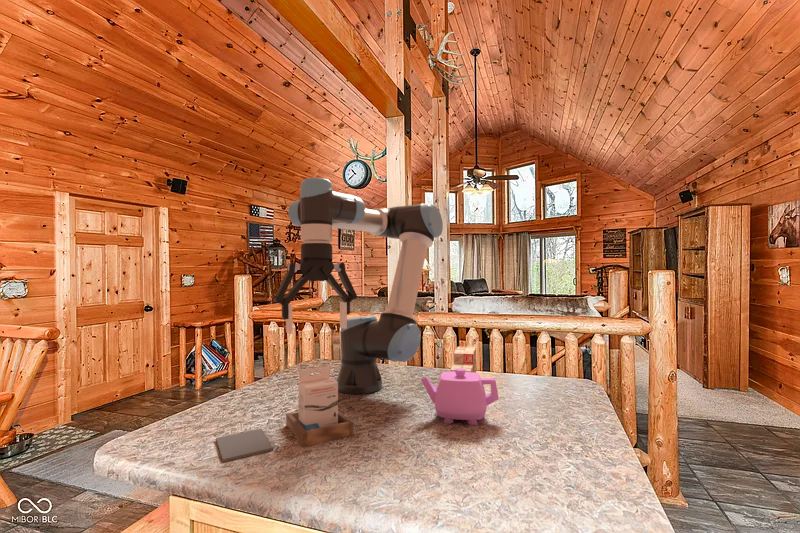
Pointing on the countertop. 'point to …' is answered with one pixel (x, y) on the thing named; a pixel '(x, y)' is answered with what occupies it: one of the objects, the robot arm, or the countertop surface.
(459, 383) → the teapot
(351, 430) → the walnut frame
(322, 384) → the ink box
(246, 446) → the rubber mat
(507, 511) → the countertop surface
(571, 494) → the countertop surface
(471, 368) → the stack of blocks
